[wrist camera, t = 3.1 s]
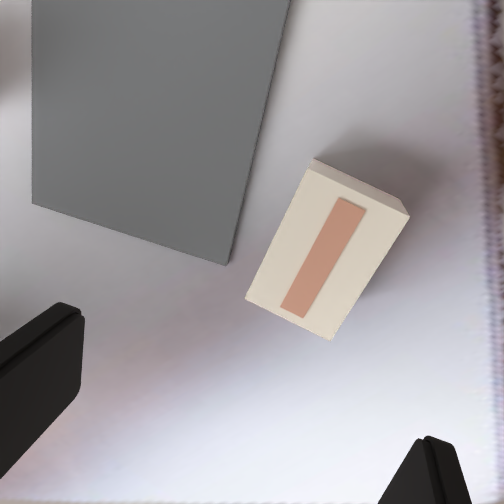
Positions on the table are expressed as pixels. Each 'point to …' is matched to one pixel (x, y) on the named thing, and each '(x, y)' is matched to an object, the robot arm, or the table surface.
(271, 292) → the card box
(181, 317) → the table surface
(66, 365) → the robot arm
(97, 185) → the mat
